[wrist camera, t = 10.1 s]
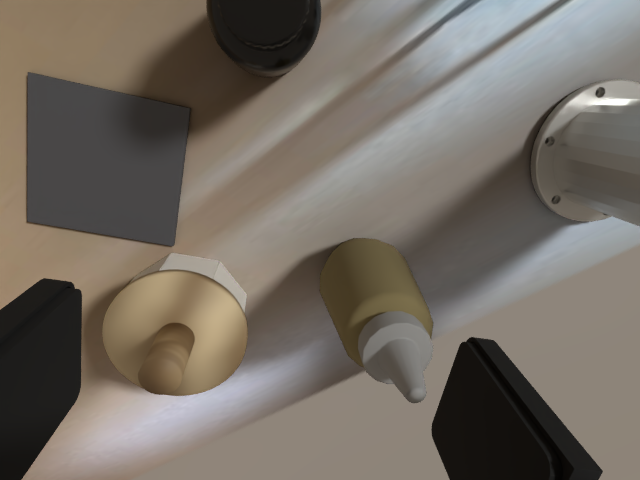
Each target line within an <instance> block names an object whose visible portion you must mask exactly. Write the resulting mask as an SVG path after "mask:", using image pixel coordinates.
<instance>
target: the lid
mask: <svg viewBox="0 0 640 480" xmlns="http://www.w3.org/2000/svg"><path fill="white" fill-rule="evenodd" d="M102 337H103V343H104V347H105V350H106V353H107V355H108V357H109V359H110V360H111V362H112V363H113V365H114V366H115V367H116V369H117V370H118V371H119V372H120V373H121V374H122V375H123V376H125V377H126V378H127V379H128V380H130V381H131V382H133V383H134V384H136V385H138V386H140V387H142V388H144V389H145V390H147V391H148V392H150V393H153V394H159V395H163V394H164V395H173V396H185V395H193V394H198V393H201V392H205V391H207V390H210V389H212V388H214V387H216V386H218V385H220V384H221V383H223V382H224V381H226V380H227V379H228V378H229V377H230V376H231V375H232V374H233V373H234V372H235V371H236V369H237V368H238V366H239V365H240V363H241V361H242V359H243V357H244V354H245V350H246V345H247V337H248V326H247V320H246V317H245V314H244V311H243V309H242V307H241V305H240V303H239V302H238V301H237V299H236V298H235V296H234V295H233V294H232V293H231V292H230V291H229V290H228V289H227V288H225V287H224V286H223V285H222V284H220V283H219V282H217V281H215V280H214V279H212V278H210V277H208V276H205V275H203V274H200V273H197V272H192V271H188V270H179V269H168V270H160V271H155V272H152V273H148V274H146V275H143V276H141V277H139V278H137V279H135V280H133V281H132V282H131V283H129V284H128V285H127V286H125V287H124V288H123V289H122V290H121V291H120V292H119V294H118V295H117V296H116V297H115V299H114V300H113V301H112V303H111V304H110V306H109V308H108V310H107V312H106V314H105V317H104V321H103V327H102Z"/></svg>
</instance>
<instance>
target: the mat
mask: <svg viewBox="0 0 640 480" xmlns="http://www.w3.org/2000/svg"><path fill="white" fill-rule="evenodd" d="M190 111H191V108H187V107H182V106H178V105H173V104H169V103H165V102H160V101H156V100H151V99H147V98H142V97H138V96H133V95H129V94H124V93H120V92H115V91H111V90H106V89H102V88H97V87H93V86H88V85H84V84H80V83H75V82H71V81H66V80H62V79H57V78H53V77H48V76H44V75H39V74H35V73H30V72H28V166H27V221H28V222H33V223H39V224H45V225H51V226H57V227H63V228H69V229H75V230H81V231H87V232H92V233H98V234H104V235H110V236H116V237H122V238H128V239H134V240H140V241H145V242H151V243H157V244H163V245H169V246H174V243H175V235H176V227H177V219H178V210H179V202H180V194H181V185H182V177H183V169H184V160H185V152H186V144H187V135H188V127H189V119H190Z"/></svg>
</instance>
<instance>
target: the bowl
mask: <svg viewBox="0 0 640 480" xmlns="http://www.w3.org/2000/svg"><path fill="white" fill-rule="evenodd" d="M168 269H179V270H188V271H192V272H197V273H200V274H203V275H205V276H208V277H210V278H212V279H214V280H215V281H217V282H219V283H220V284H222V285H223V286H224V287H225V288H227V289H228V290H229V291H230V292H231V293H232V294H233V295H234V296H235V298H236V299H237V301H238V302H239V303H240V305H241V307H242V309H243V311H245V305H246V299H247V294H246V293H245V292H244V290H243V289H242V288H241V287H240V285H239V284H238V283H237V282H236V280H235V279H234V278H233V277H232V275H231V274H230V273H229V272H228V270H227V269H226V268H225V267H224V265H223V264H222V263H221V262H220V261H219V260H213V259H207V258H201V257H195V256H189V255H183V254H177V253H170V254H169V255H167V256H166V257H164V258H162V259H161V260H159V261H158V262H156V263H155V264H153V265H152V266H150V267H149V268H147V269H146V270H144V271H143V272H141V273H140V274H138V275H137V276H135V277H134V278H133V279H132V281H133V280H135V279H137V278H139V277H141V276H143V275H146V274H148V273H152V272H155V271H160V270H168ZM132 281H131V282H132ZM131 282H130V283H131Z"/></svg>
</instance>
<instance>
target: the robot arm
mask: <svg viewBox="0 0 640 480" xmlns="http://www.w3.org/2000/svg"><path fill="white" fill-rule="evenodd" d="M545 140H546V141H545ZM530 169H531V177H532V182H533V185H534V188H535V191H536V193H537V195H538V196H539V198H540V200H541V201H542V202H543V203H544V204H545V205H546V206H547V207H548V208H549V209H550V210H552V211H553V212H555V213H556V214H558V215H560V216H563V217H565V218H568V219H571V220H575V221H580V222H592V221H598V220H603V219H606V218H609V217H612V216H613V217H615V218H618V219H621V220H624V221H626V222H629V223H632V224H635V225H637V226H640V83H638V82H635V81H629V80H623V79H620V80H605V81H599V82H594V83H592V84H589V85H587V86H584V87H582V88H580V89H578V90H577V91H575V92H573V93H572V94H570V95H569V96H567V97H566V98H565V99H564V100H563V101H562V102H560V103H559V104H558V105H557V106H556V107H555V109H554V110H553V111H552V112H551V113H550V114H549V116H548V117H547V119H546V120H545V122H544V123H543V125H542V127H541V128H540V130H539V133H538V135H537V137H536V140H535V142H534V146H533V150H532V155H531V168H530ZM81 321H82V294H81V291H80V290H79V289H75V287H74V284H73V283H72V282H68V281H60V280H53V279H45V278H44V279H42V280H40V281H38V282H37V283H36V284H34V285H33V286H32V287H30V288H29V289H28V290H26V291H25V292H24V293H22V294H21V295H20V296H18V297H17V298H16V299H14V300H13V301H12V302H10V303H9V304H8V305H6V306H5V307H4V308H2V309H1V310H0V480H21V479H22V478H23V476H24V475H25V474H26V472H27V471H28V469H29V468H30V466H31V465H32V464H33V462H34V461H35V459H36V458H37V456H38V455H39V453H40V452H41V451H42V449H43V448H44V446H45V445H46V443H47V442H48V441H49V439H50V438H51V436H52V435H53V433H54V432H55V430H56V429H57V428H58V426H59V425H60V423H61V422H62V420H63V419H64V418H65V416H66V415H67V413H68V412H69V410H70V409H71V407H72V406H73V405H74V403H75V401H76V400H77V398H78V395H79V392H80V388H81ZM432 437H433V440H434V442H435V445H436V447H437V450H438V452H439V455H440V457H441V459H442V462H443V464H444V467H445V469H446V471H447V474H448V476H449V479H450V480H598V479H599V478H600V476H601V474H602V472H603V471H602V470H601V469H600V467H599V466H598V465H597V464H596V462H595V461H594V460H593V459H592V458H591V456H590V455H589V454H588V453H587V452H586V450H585V449H584V448H583V447H582V446H581V444H580V443H579V442H578V441H577V440H576V438H575V437H574V436H573V435H572V434H571V432H570V431H569V430H568V429H567V428H566V426H565V425H564V424H563V423H562V421H561V420H560V419H559V418H558V417H557V415H556V414H555V413H554V412H553V411H552V410H551V408H550V407H549V406H548V405H547V404H546V402H545V401H544V400H543V399H542V397H541V396H540V395H539V394H538V393H537V392H536V390H535V389H534V388H533V387H532V386H531V384H530V383H529V382H528V381H527V379H526V378H525V377H524V376H523V374H521V372H520V371H519V370H518V368H517V367H516V366H515V365H514V364H513V363H512V361H511V360H510V359H509V358H508V356H507V355H506V354H505V353H504V352H503V351H502V349H501V348H500V347H499V346H498V344H497V343H496V342H495V341H494V340H488V339H481V338H474V337H471V338H469V339H468V340H467V341H466V342H462V343H461V344H460V346H459V349H458V352H457V355H456V357H455V360H454V363H453V366H452V369H451V372H450V374H449V377H448V380H447V383H446V386H445V389H444V391H443V394H442V397H441V400H440V403H439V406H438V408H437V411H436V414H435V417H434V420H433V423H432Z"/></svg>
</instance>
